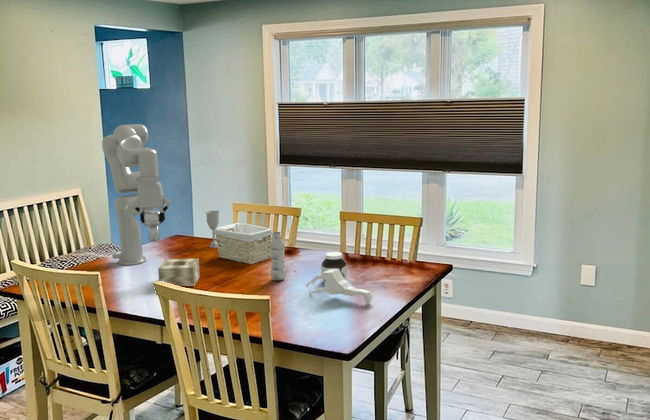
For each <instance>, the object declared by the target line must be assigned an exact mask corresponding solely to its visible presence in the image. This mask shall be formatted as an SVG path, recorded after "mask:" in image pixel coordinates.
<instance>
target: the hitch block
mask: <svg viewBox="0 0 650 420" xmlns="http://www.w3.org/2000/svg"><path fill="white" fill-rule="evenodd" d="M199 259H200V258H198V257H197V258H177V259H176V258H175V259H172V258H171V259H167V258H166V259H164V261H163V262H162V263H161V264H160V266H159V267H157V271H158V282H159V281H164V282H167V283H171V284H174V285H179V286H194V287H195V286H196V285H195V284H197V283H198V281H199V279H200V277H201V274H200V273H201V271H200V260H199ZM196 282H197V283H196Z"/></svg>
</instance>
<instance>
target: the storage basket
mask: <svg viewBox="0 0 650 420" xmlns="http://www.w3.org/2000/svg"><path fill="white" fill-rule="evenodd" d="M272 234H273V230H272V228H269V227H264V226H259V225H254V224H249V223H239V222H236V223H231V224H227V225H224V226H220V227H217V228H216V229H215V241H217V247H216V248H217V252H218V257H219V258H221V259H225V260H231V261H234V262H237V263H244V264H248V265H253V264H255V263H256V264H257V263H259V262H263V261H266V260H268V259H271V252H270V243H271V241H272Z"/></svg>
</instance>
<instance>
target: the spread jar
mask: <svg viewBox="0 0 650 420" xmlns="http://www.w3.org/2000/svg"><path fill="white" fill-rule="evenodd" d="M324 256H325V258H324V260H323V261H322V263H321V266H320V267H321V268H320V270H321V274H322V273H324V272H326V271H328V270H332V269H338V270H339V271H340V273H341V274H342V276H343V277H344V279H345V280H347V277H348V266H347V261H345V259H344V258H343V253H342V252H339V251H329V252H327V253H325V255H324ZM321 274H320V275H321ZM322 280H323V281H324V282H325V279H322Z"/></svg>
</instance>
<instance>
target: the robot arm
mask: <svg viewBox="0 0 650 420" xmlns="http://www.w3.org/2000/svg"><path fill="white" fill-rule="evenodd" d="M148 140H149V132H148V129H147V127H146V126H145V125H143V124H141V123H136V124H135V123H134V124H120V125H117V126H116V128H115V129H114V131H113V134H110V135H107V136H104V137H103V138H102V140H101V141H102V142H101V147H102V152H103V155H104V157H105V159H106V161H107V162H108V164H109V167H110V173H111V177H112V182H113V188H114V190H115V192H116V193H118V194H126V195H121V196H119V197H116V199H114V210H115V214H116V217H117V223H118V232H119V244H120V252H119V253H112V254H111V256H112V259H113V260H114V259H118V264H119V265H121V266H122V265H123V266H133V265H134V266H135V265H140V264H143V263H146V262H147V257H146V256H144V255H143V246H142V233H141V225H140V222H141V224H144V216H143V213H144V212H147V211H155V208H158V211H161V213H160V222H161V223H164V222H165V220H166V215H165V214H166V213H165V212H166V211H167V210H168V209H169V208H170V206H171V205H172V201H170V200H169V199H167V198H166V197H165V193H164V190H163V189H164V188H163V185H162V183H161V182H160V177H159V176H160V175H159V162H158V152H157V150H156V149H153V148H152V147H144V146H145V145H146V143H147V141H148ZM135 167H136V168H137V167H138V171H131V168H135ZM131 193H136V194H131ZM164 205H165V206H164ZM137 215H139V216H140V217H139V218H140V219H139V220H140V222H139V221H138V220H137V219H136V218H135V217H134V216H137Z"/></svg>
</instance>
